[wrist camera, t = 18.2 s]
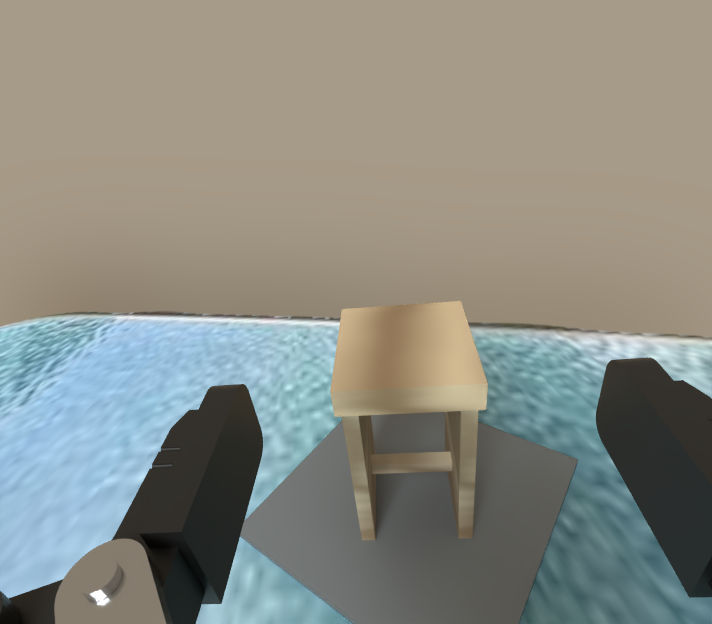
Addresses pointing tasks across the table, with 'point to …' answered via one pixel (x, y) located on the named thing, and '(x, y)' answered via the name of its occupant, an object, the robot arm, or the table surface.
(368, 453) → the pine stool
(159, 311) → the table surface
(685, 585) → the robot arm
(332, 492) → the charcoal mat
